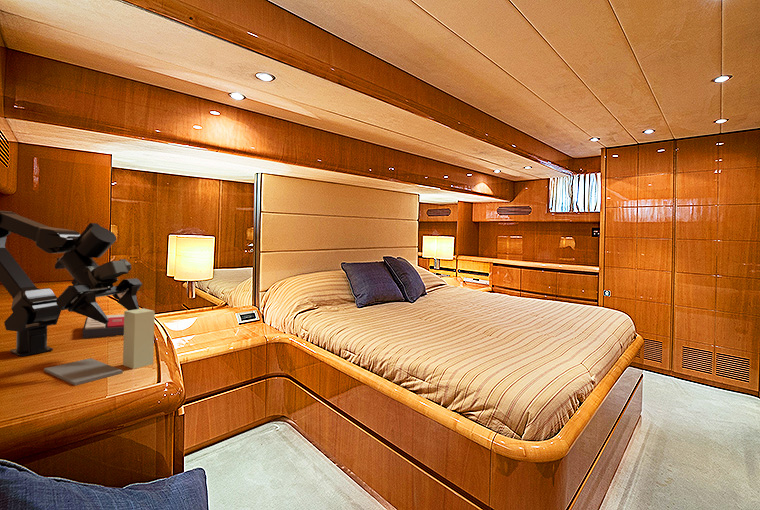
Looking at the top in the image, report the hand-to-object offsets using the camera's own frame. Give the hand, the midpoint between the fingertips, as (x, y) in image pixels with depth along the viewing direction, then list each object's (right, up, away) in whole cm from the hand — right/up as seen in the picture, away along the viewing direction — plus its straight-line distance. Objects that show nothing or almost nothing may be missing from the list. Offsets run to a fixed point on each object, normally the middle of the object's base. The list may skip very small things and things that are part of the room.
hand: (123, 318), depth 91 cm
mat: (-4, -11, -7) cm, 13 cm away
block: (+4, -11, 0) cm, 12 cm away
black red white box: (-24, -9, +27) cm, 37 cm away
